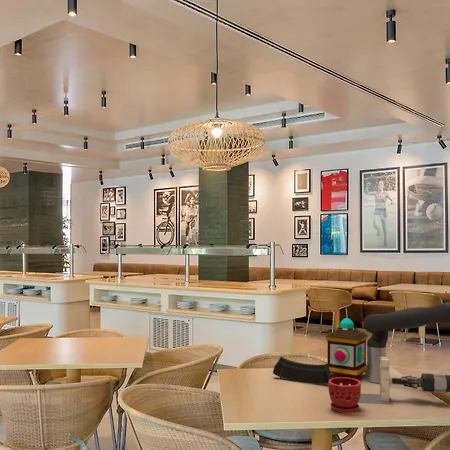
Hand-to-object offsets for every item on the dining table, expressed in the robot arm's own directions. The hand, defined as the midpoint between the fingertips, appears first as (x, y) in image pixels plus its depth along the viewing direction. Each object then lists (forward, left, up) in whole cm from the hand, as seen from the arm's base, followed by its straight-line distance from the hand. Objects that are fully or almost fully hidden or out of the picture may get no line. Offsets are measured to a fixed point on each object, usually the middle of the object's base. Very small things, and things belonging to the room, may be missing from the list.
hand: (392, 380), depth 238 cm
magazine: (-27, -39, -9) cm, 48 cm away
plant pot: (+15, -21, -9) cm, 28 cm away
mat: (-1, -11, -9) cm, 14 cm away
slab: (0, -3, -8) cm, 9 cm away
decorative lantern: (-42, -16, -9) cm, 46 cm away
